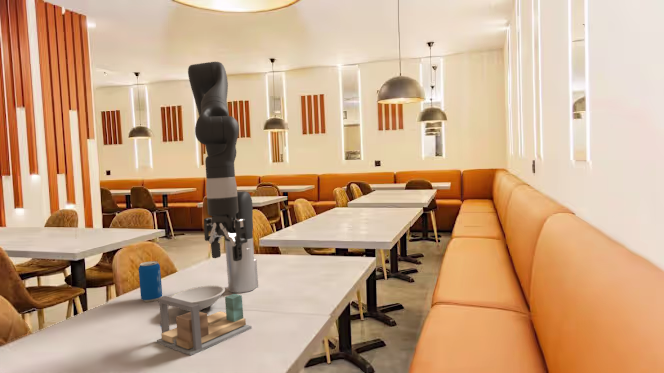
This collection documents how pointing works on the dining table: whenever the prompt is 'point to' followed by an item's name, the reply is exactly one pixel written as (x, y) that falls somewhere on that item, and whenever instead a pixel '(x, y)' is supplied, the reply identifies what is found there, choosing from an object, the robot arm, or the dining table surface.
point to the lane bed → (195, 326)
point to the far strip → (170, 335)
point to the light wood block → (216, 317)
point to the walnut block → (190, 326)
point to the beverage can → (150, 281)
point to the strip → (232, 322)
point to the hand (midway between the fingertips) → (226, 259)
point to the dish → (201, 295)
